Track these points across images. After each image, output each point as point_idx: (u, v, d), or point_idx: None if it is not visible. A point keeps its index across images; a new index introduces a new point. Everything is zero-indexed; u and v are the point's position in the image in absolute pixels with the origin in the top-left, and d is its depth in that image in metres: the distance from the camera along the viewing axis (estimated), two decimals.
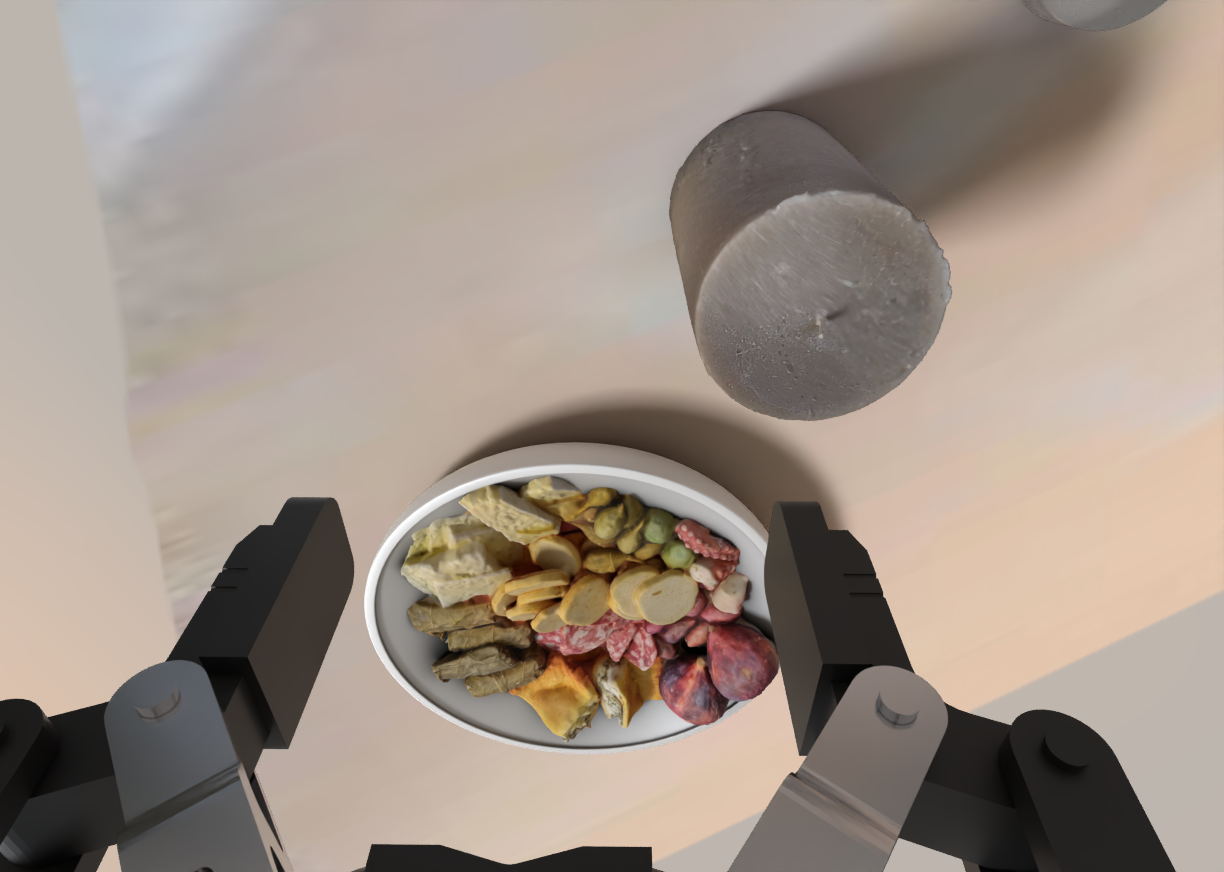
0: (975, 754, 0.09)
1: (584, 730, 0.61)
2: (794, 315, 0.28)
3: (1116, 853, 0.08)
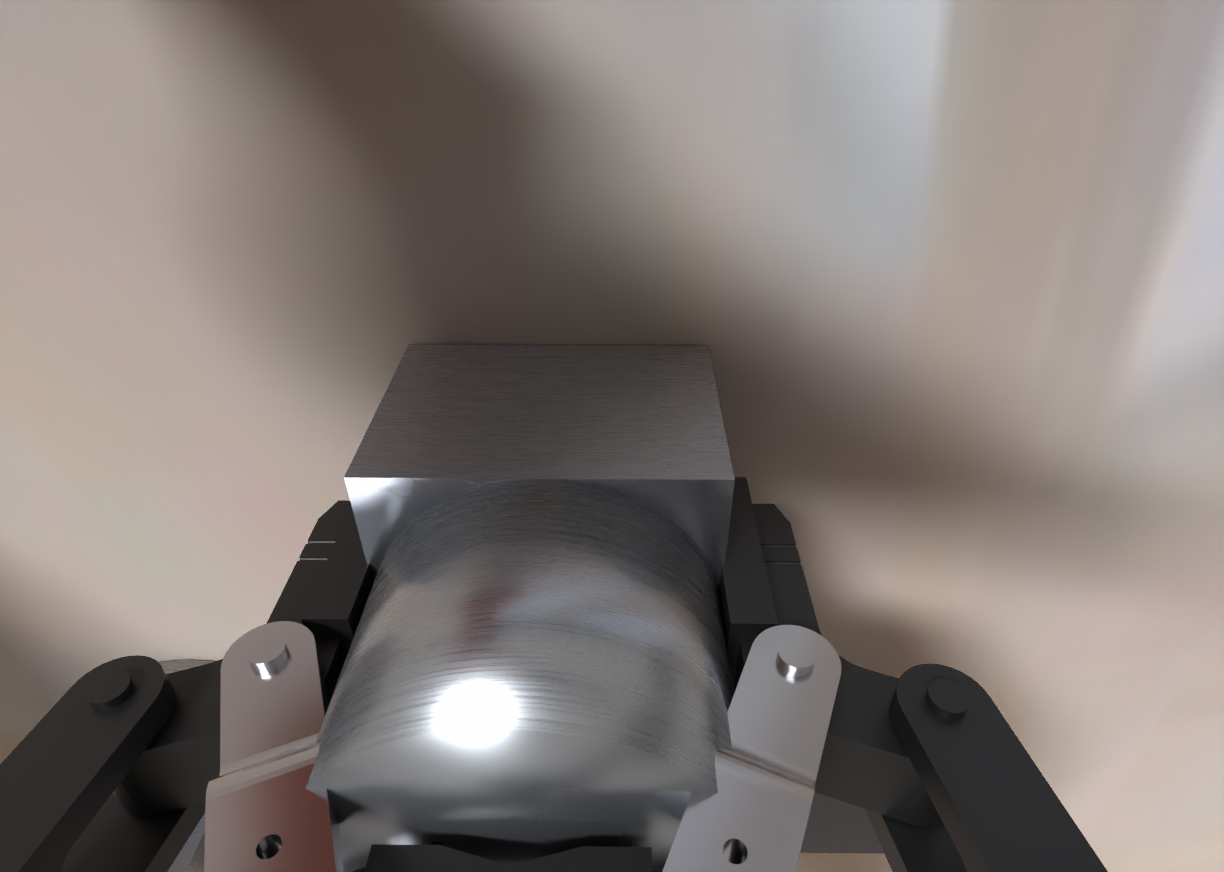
0: (868, 706, 0.10)
1: None
2: None
3: (1003, 788, 0.09)
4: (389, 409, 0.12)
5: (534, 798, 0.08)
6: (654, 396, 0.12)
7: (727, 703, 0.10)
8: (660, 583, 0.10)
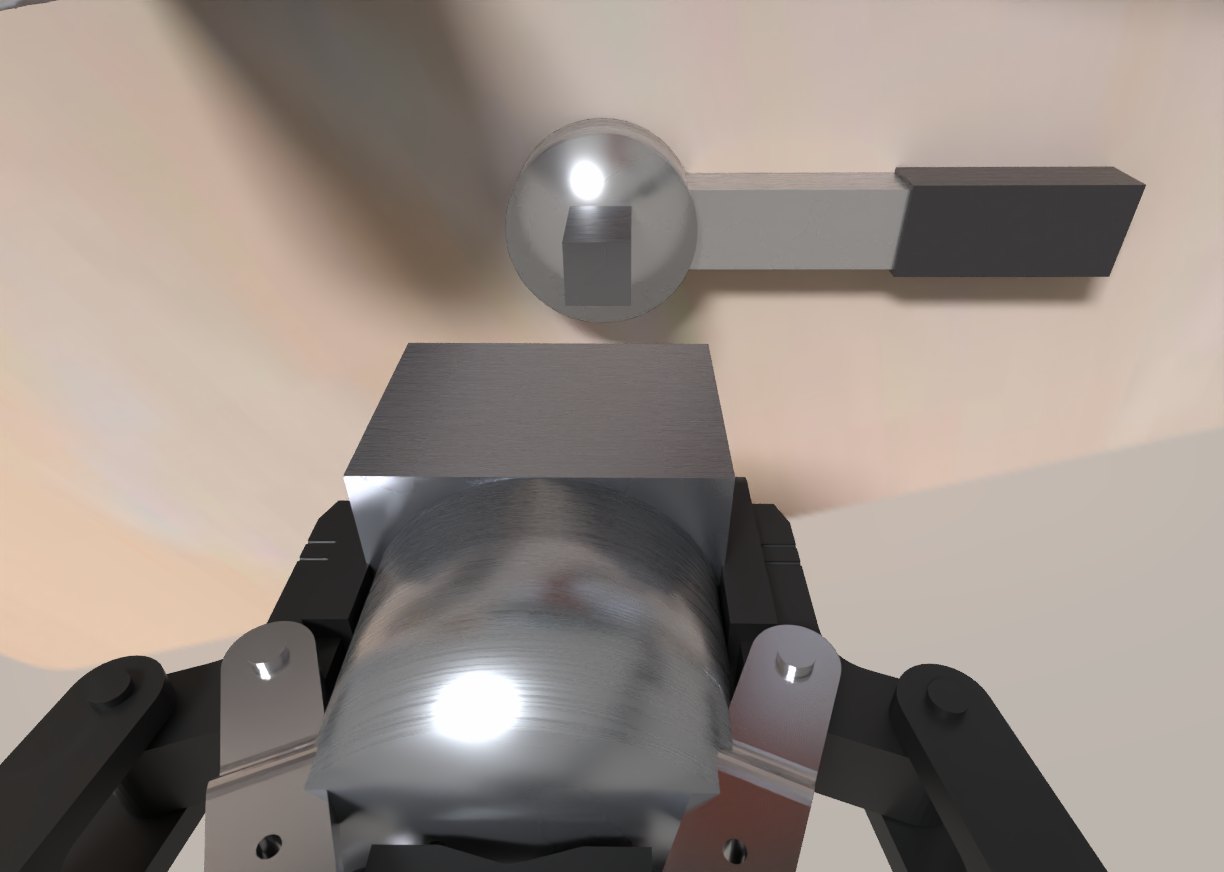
0: (868, 706, 0.10)
1: None
2: None
3: (1004, 788, 0.09)
4: (388, 408, 0.12)
5: (533, 798, 0.08)
6: (654, 395, 0.12)
7: (727, 702, 0.09)
8: (659, 582, 0.10)
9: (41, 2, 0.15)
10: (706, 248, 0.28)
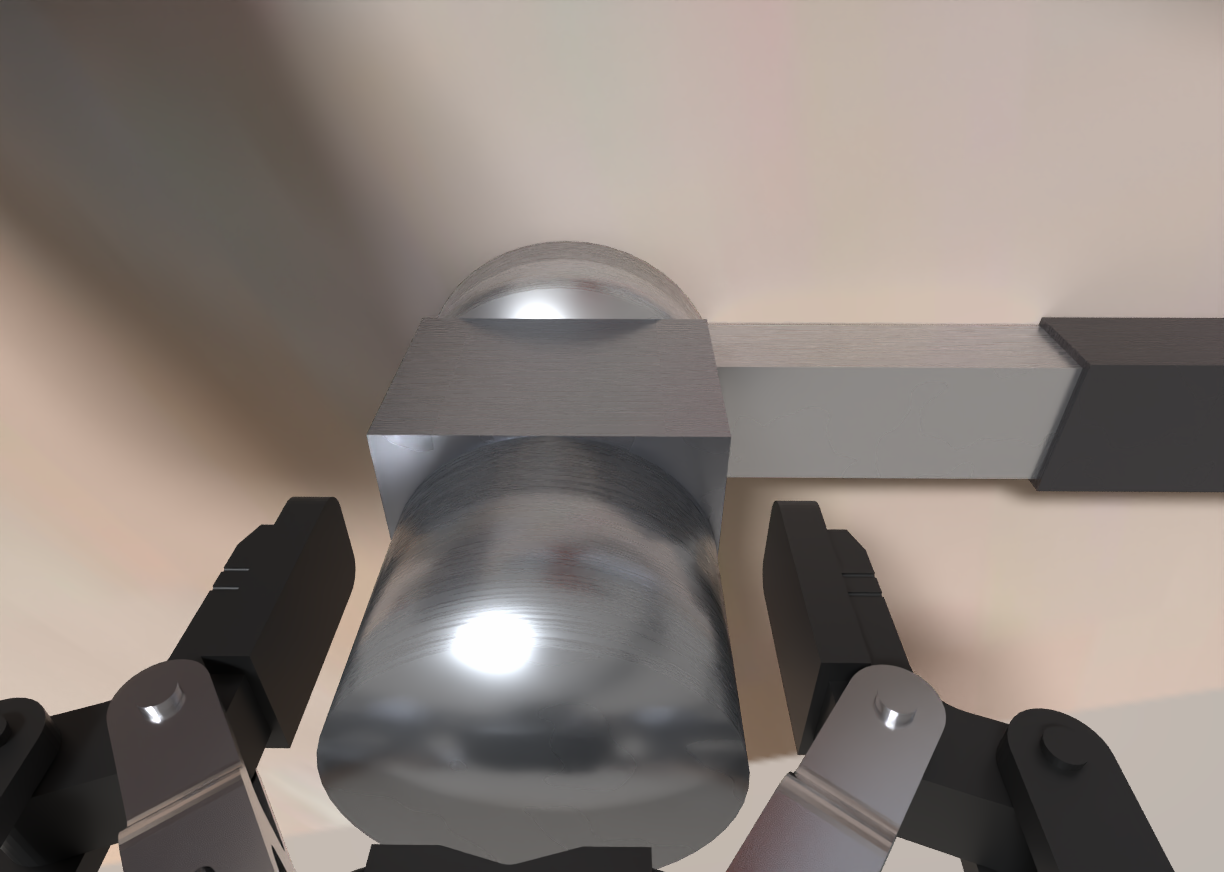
0: (973, 753, 0.09)
1: None
2: None
3: (1114, 852, 0.08)
4: (406, 375, 0.13)
5: (547, 715, 0.09)
6: (656, 364, 0.13)
7: (724, 639, 0.10)
8: (660, 529, 0.11)
9: None
10: (737, 449, 0.17)
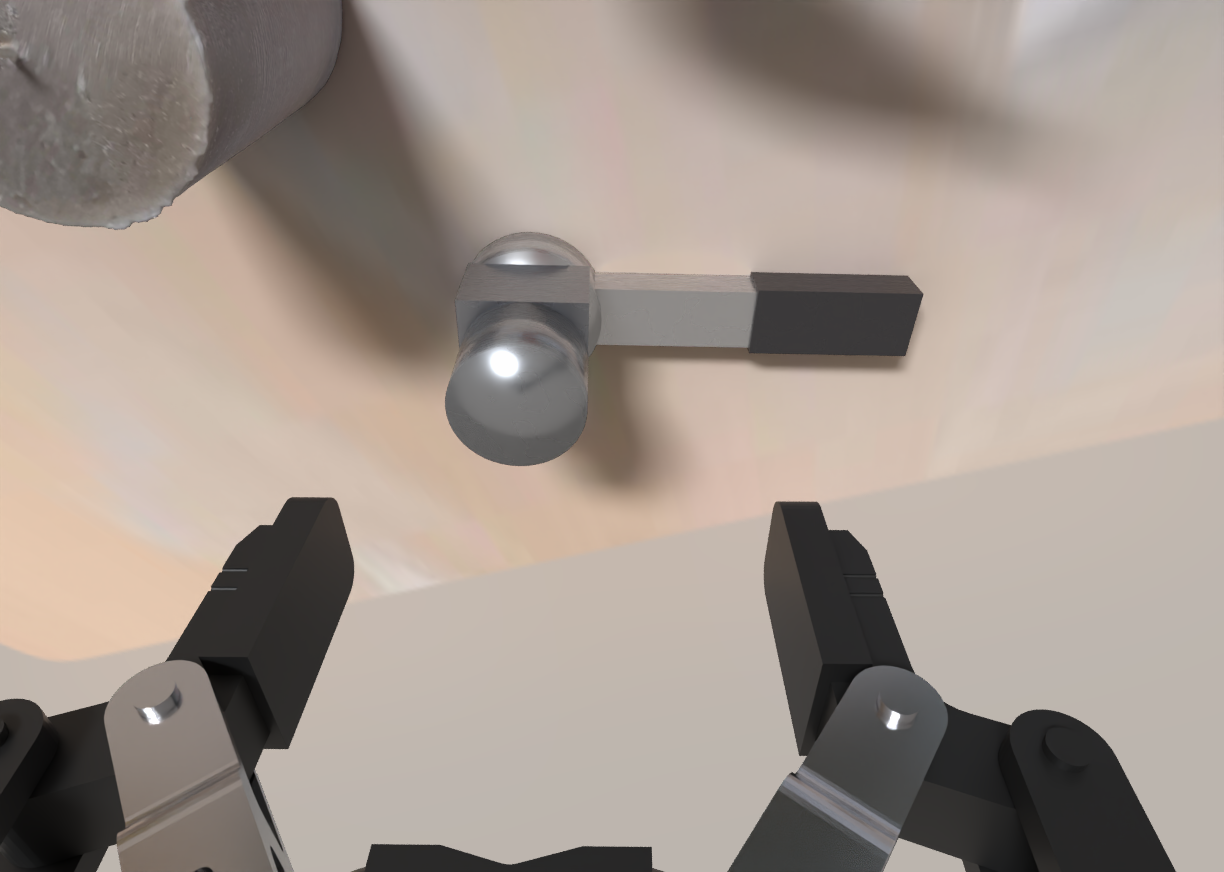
0: (975, 754, 0.09)
1: None
2: (0, 5, 0.19)
3: (1115, 853, 0.08)
4: (465, 282, 0.32)
5: (520, 376, 0.29)
6: (565, 281, 0.33)
7: (581, 367, 0.30)
8: (560, 330, 0.30)
9: None
10: (609, 330, 0.37)
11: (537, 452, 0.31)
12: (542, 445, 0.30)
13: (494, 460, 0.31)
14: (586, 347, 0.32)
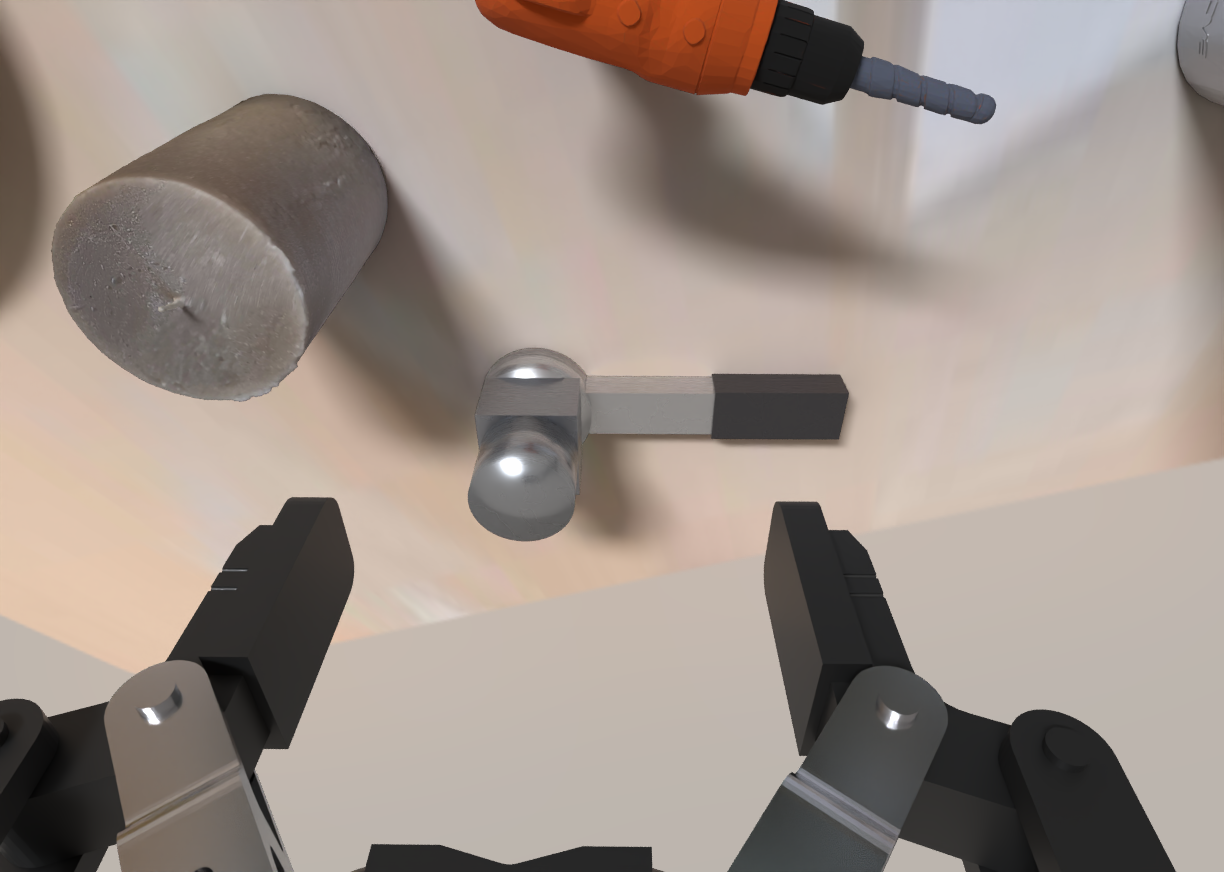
0: (975, 754, 0.09)
1: None
2: (175, 277, 0.28)
3: (1116, 853, 0.08)
4: (483, 397, 0.42)
5: (523, 479, 0.38)
6: (560, 394, 0.42)
7: (570, 467, 0.40)
8: (555, 439, 0.40)
9: None
10: (598, 422, 0.46)
11: (538, 531, 0.40)
12: (541, 526, 0.40)
13: (506, 537, 0.41)
14: (576, 447, 0.42)
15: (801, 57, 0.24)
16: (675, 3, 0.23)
